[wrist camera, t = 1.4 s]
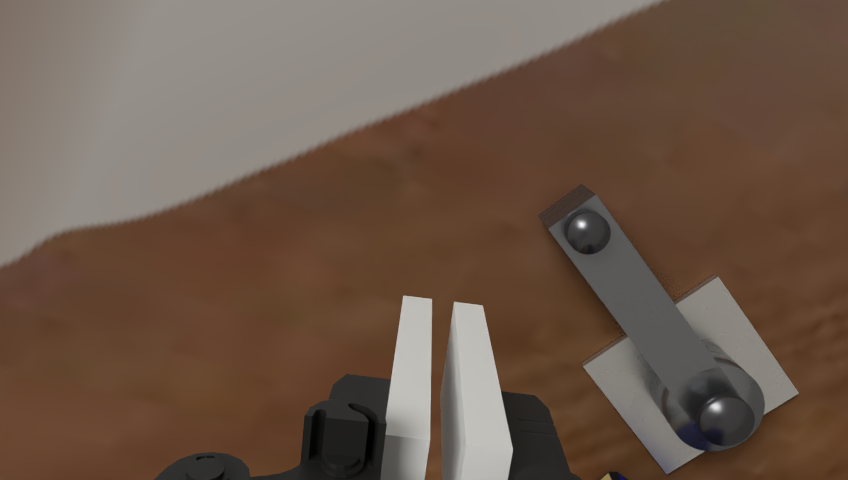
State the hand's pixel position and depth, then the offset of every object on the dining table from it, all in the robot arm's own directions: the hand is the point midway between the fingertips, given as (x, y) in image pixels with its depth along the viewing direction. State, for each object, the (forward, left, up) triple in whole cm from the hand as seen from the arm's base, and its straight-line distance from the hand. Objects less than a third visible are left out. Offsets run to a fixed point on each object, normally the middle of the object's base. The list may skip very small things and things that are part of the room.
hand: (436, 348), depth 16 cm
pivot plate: (+5, -15, -14) cm, 21 cm away
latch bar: (+6, -10, -14) cm, 18 cm away
